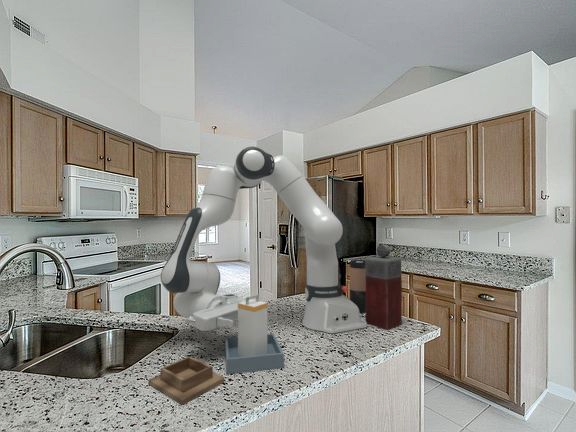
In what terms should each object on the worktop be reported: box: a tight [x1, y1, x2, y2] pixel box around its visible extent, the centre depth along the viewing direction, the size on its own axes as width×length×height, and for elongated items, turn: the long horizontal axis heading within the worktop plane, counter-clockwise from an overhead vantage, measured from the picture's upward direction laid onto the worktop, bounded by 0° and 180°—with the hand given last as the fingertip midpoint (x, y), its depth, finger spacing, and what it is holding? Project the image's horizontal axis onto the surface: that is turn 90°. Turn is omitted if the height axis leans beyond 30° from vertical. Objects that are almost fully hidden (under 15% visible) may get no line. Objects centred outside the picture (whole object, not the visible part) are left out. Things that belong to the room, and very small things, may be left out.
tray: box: [224, 333, 285, 375], centre depth 83 cm, size 14×14×4 cm
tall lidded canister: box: [237, 293, 268, 357], centre depth 83 cm, size 6×5×16 cm
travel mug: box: [349, 259, 366, 314], centre depth 125 cm, size 8×8×20 cm
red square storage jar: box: [365, 244, 403, 331], centre depth 110 cm, size 9×11×28 cm
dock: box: [147, 356, 226, 406], centre depth 70 cm, size 13×11×4 cm
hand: (246, 319), depth 84 cm, fingers open, 8 cm apart
